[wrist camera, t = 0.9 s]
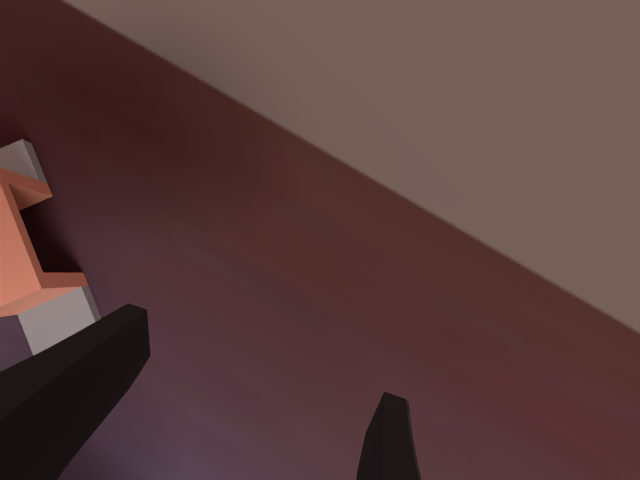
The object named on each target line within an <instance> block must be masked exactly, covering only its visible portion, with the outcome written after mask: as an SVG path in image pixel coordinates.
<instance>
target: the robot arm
mask: <svg viewBox="0 0 640 480" xmlns="http://www.w3.org/2000/svg"><path fill="white" fill-rule="evenodd" d="M149 357H150V344H149V331H148V318H147V310H146V309H143V308H140V307H137V306H134V305H132V304H129V303H128V304H126V305H124V306H123V307H121V308H119V309H117V310H115V311H114V312H112V313H110V314H108V315H107V316H105V317H103V318H101V319H100V320H98V321H96V322H94V323H93V324H91V325H89V326H87V327H85V328H84V329H82V330H80V331H78V332H77V333H75V334H73V335H71V336H69V337H67V338H66V339H64V340H62V341H60V342H58V343H56V344H55V345H53V346H51V347H49V348H47V349H45V350H43V351H41V352H40V353H38V354H36V355H34V356H32V357H30V358H28V359H26V360H24V361H22V362H20V363H18V364H16V365H14V366H12V367H10V368H8V369H5V370H3V371H1V372H0V480H57V479H58V477H59V476H60V474H61V473H62V472H63V470H64V469H65V467H66V466H67V465H68V464H69V462H70V461H71V460H72V458H73V457H74V456H75V454H76V453H77V452H78V451H79V449H80V448H81V447H82V446H83V445H84V443H85V442H86V441H87V440H88V438H89V437H90V436H91V435H92V434H93V432H94V431H95V430H96V429H97V428H98V426H99V425H100V424H101V423H102V421H103V420H104V419H105V418H106V417H107V415H108V414H109V413H110V412H111V410H112V409H113V408H114V407H115V405H116V404H117V403H118V402H119V401H120V399H121V398H122V397H123V396H124V394H125V393H126V392H127V391H128V389H129V388H130V387H131V385H132V384H133V382H134V381H135V379H136V378H137V376H138V375H139V373H140V371H141V370H142V368H143V367H144V365H145V363H146V362H147V360H148V359H149ZM357 480H421V476H420V472H419V468H418V463H417V458H416V452H415V447H414V441H413V435H412V429H411V421H410V413H409V403H408V402H407V400H406V399H404V398H401V397H398V396H395V395H392V394H389V393H386V392H384V394H383V396H382V398H381V400H380V403H379V405H378V407H377V409H376V412H375V414H374V416H373V418H372V420H371V423H370V425H369V427H368V429H367V432H366V435H365V439H364V444H363V448H362V453H361V457H360V462H359V467H358V472H357Z"/></svg>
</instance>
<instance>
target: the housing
mask: <svg viewBox="0 0 640 480" xmlns="http://www.w3.org/2000/svg"><path fill="white" fill-rule="evenodd" d="M50 197H52V193H51V191H50V188H49V186H48V183H47V181H46V178H45V176H44V173H43V171H42V168H41V166H40V163H39V161H38V158H37V156H36V153H35V151H34V148H33V146H32V143H30V142H27V141H25V140H23V139H22V140H19V141H17V142H14V143H12V144H10V145H7V146H5V147H3V148H0V317H3V316H10V315H18V317H19V319H20V322H21V325H22V327H23V330H24V332H25V335H26V338H27V340H28V343H29V345H30V348H31V351H32V353H33V356H34V355H36V354H38V353H40V352H41V351H43V350H45V349H47V348H49V347H51V346H53V345H55V344H56V343H58V342H60V341H62V340H64V339H66V338H67V337H69V336H71V335H73V334H75V333H77V332H78V331H80V330H82V329H84V328H85V327H87V326H89V325H91V324H93V323H94V322H96V321H98V320H100V319H101V315H100V313H99V310H98V308H97V305H96V303H95V300H94V298H93V295H92V293H91V290H90V288H89V285H88V283H87V280H86V278H85V275H84V273H44V272H43V271H42V269H41V266H40V263H39V261H38V258H37V256H36V253H35V251H34V248H33V246H32V243H31V241H30V238H29V236H28V233H27V230H26V228H25V225H24V223H23V220H22V218H21V215H20V213H19V211H20V210H22V209H24V208H27V207H29V206H31V205H34V204H36V203H38V202H41V201H43V200H45V199H48V198H50Z"/></svg>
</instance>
